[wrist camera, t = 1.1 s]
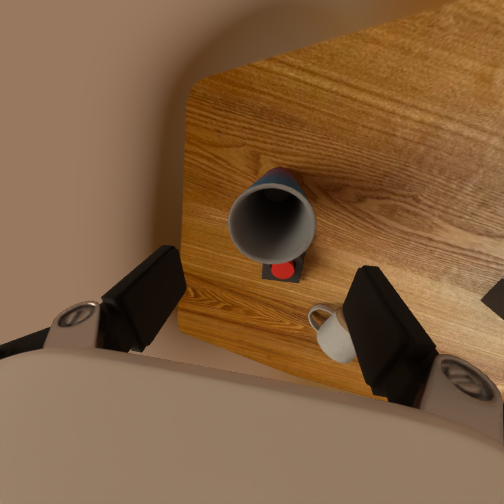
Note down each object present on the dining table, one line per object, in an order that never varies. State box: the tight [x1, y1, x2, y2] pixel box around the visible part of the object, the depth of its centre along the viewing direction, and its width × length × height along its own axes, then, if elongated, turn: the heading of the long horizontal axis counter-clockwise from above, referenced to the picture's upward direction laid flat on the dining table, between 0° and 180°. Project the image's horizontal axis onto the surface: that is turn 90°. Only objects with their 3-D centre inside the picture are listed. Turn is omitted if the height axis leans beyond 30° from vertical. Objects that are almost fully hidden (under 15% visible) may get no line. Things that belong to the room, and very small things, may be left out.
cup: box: [228, 167, 316, 264], centre depth 20 cm, size 7×7×15 cm
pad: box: [262, 251, 306, 283], centre depth 32 cm, size 10×7×3 cm
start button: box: [271, 260, 294, 279], centre depth 30 cm, size 4×4×2 cm
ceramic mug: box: [308, 304, 357, 364], centre depth 35 cm, size 11×8×8 cm
